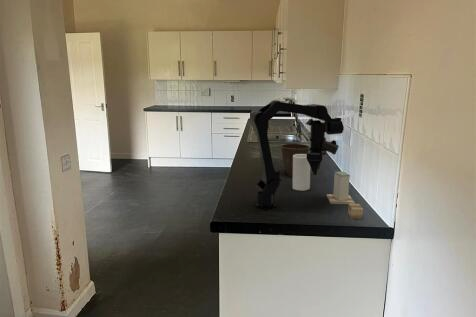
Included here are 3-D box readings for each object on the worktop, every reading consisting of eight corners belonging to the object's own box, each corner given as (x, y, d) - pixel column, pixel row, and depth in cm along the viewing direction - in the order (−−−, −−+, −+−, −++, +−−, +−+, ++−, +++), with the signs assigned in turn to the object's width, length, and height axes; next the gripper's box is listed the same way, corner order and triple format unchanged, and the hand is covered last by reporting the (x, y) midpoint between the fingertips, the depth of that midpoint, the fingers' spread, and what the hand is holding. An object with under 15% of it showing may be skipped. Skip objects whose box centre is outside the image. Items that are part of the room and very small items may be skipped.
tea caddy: (339, 200, 151) (340, 175, 149) (333, 196, 157) (334, 171, 154) (348, 199, 152) (349, 174, 150) (341, 195, 157) (343, 171, 155)
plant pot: (285, 170, 204) (286, 142, 200) (311, 173, 198) (312, 144, 194) (276, 176, 191) (277, 147, 187) (303, 179, 185) (304, 149, 181)
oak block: (362, 219, 134) (363, 209, 133) (351, 219, 134) (352, 209, 133) (358, 213, 140) (359, 203, 139) (348, 213, 140) (348, 203, 139)
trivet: (354, 204, 149) (354, 202, 149) (330, 203, 150) (330, 201, 150) (349, 196, 159) (349, 194, 159) (326, 196, 160) (326, 194, 160)
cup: (300, 184, 176) (301, 153, 173) (313, 188, 170) (314, 155, 167) (288, 187, 171) (289, 155, 168) (301, 191, 165) (302, 158, 162)
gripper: (336, 140, 135) (334, 179, 138) (339, 132, 152) (337, 167, 156) (306, 139, 138) (305, 177, 142) (313, 131, 156) (312, 165, 159)
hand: (316, 171), depth 150 cm, fingers open, 9 cm apart
